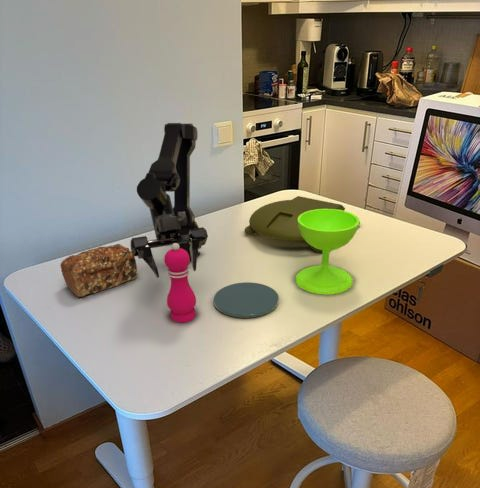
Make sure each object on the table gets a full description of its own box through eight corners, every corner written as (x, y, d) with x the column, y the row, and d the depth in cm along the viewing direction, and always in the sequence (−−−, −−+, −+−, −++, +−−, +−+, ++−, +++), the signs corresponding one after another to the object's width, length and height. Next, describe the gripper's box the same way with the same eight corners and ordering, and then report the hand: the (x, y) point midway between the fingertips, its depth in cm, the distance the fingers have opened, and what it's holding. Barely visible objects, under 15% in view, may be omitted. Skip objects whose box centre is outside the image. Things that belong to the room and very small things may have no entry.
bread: (78, 300, 133) (70, 267, 128) (64, 286, 140) (55, 253, 135) (140, 279, 142) (135, 247, 137) (123, 266, 150) (118, 235, 144)
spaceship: (286, 208, 187) (286, 182, 182) (362, 225, 172) (365, 197, 166) (231, 240, 164) (229, 212, 158) (313, 263, 148) (315, 232, 143)
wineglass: (293, 267, 146) (295, 209, 136) (348, 267, 145) (354, 208, 135) (297, 294, 132) (299, 232, 123) (357, 294, 132) (364, 231, 122)
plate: (201, 309, 128) (201, 305, 127) (234, 281, 140) (234, 277, 139) (260, 325, 120) (260, 321, 120) (289, 294, 133) (289, 290, 132)
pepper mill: (201, 311, 127) (195, 238, 116) (190, 326, 121) (183, 251, 110) (176, 306, 129) (168, 235, 118) (164, 321, 123) (154, 248, 112)
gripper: (125, 206, 114) (139, 269, 111) (203, 195, 118) (218, 255, 116) (125, 226, 124) (138, 284, 121) (197, 215, 129) (211, 271, 126)
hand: (176, 273), depth 121 cm, fingers open, 9 cm apart
